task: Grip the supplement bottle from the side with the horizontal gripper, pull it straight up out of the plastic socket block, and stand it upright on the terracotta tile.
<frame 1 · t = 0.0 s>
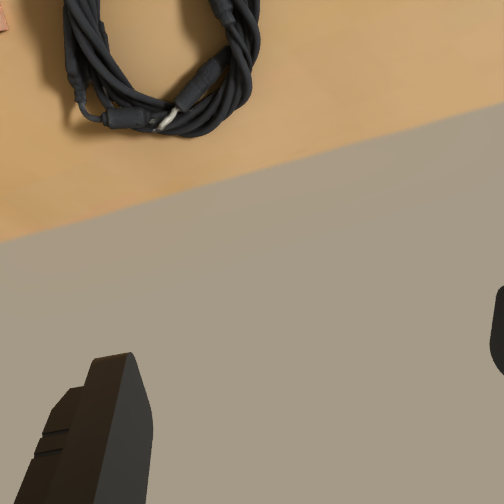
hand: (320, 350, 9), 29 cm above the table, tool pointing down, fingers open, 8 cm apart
cable: (168, 16, 32), on the table
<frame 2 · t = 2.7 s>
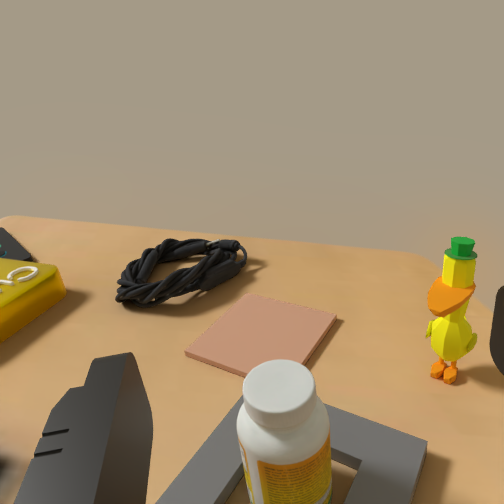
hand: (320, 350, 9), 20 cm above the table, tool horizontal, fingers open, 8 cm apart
socket block: (291, 493, 27), on the table
toy figure: (442, 376, 35), on the table
supplement bottle: (291, 495, 28), resting in socket block
terracotta tile: (263, 336, 42), on the table
cable: (176, 280, 56), on the table
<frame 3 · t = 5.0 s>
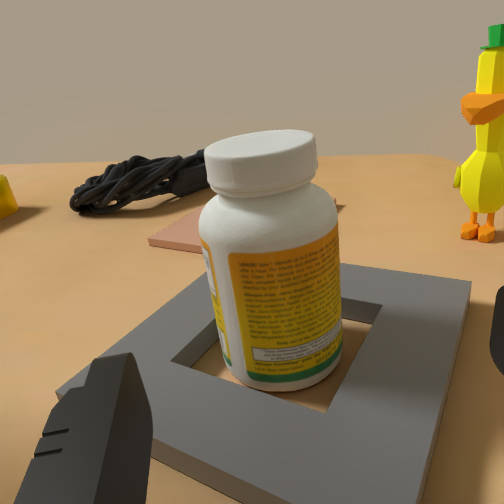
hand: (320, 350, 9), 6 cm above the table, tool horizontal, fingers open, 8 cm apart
socket block: (283, 353, 19), on the table
toy figure: (476, 238, 27), on the table
supplement bottle: (284, 357, 19), resting in socket block
terracotta tile: (246, 224, 34), on the table
cable: (146, 195, 47), on the table
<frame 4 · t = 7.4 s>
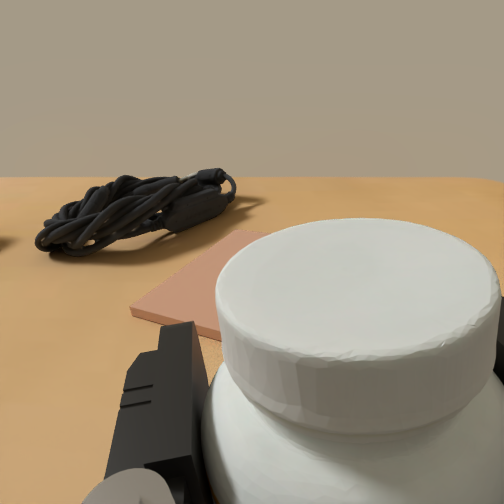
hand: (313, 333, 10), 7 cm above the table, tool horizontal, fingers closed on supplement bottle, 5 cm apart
terracotta tile: (263, 283, 25), on the table
cable: (135, 226, 39), on the table
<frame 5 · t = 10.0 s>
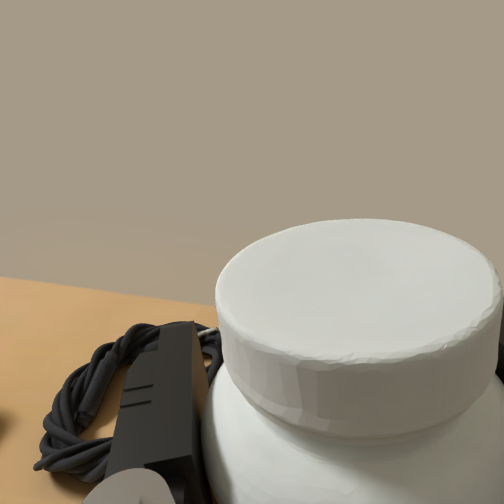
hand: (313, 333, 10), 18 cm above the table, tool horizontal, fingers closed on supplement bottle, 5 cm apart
cable: (148, 405, 34), on the table
when the fingers open (8 cm above the table, at t = 12.7 s): supplement bottle drops 1 cm, resting on terracotta tile.
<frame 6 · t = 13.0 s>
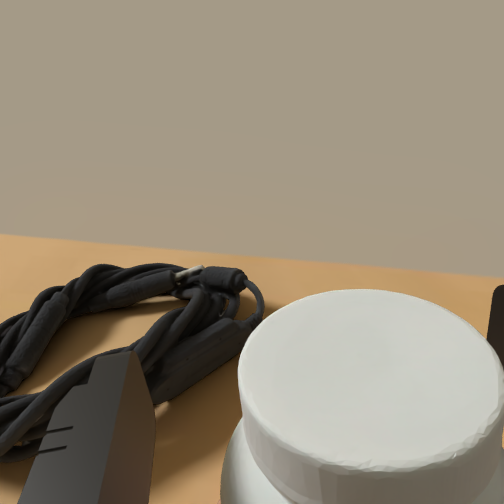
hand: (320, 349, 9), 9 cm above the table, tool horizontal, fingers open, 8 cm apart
cable: (106, 362, 25), on the table
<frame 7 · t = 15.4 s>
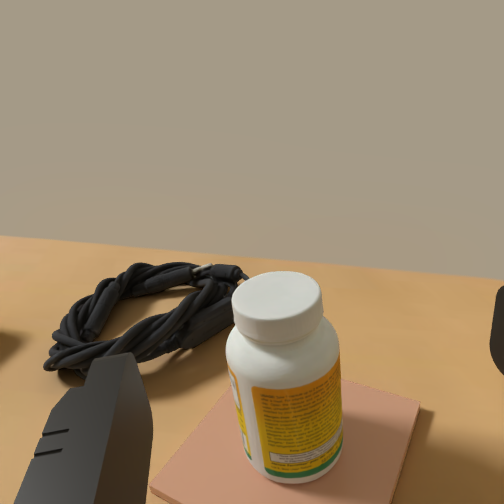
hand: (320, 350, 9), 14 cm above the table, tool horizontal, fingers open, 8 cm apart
supplement bottle: (294, 445, 23), resting on terracotta tile
terracotta tile: (292, 448, 23), on the table
cable: (147, 328, 37), on the table
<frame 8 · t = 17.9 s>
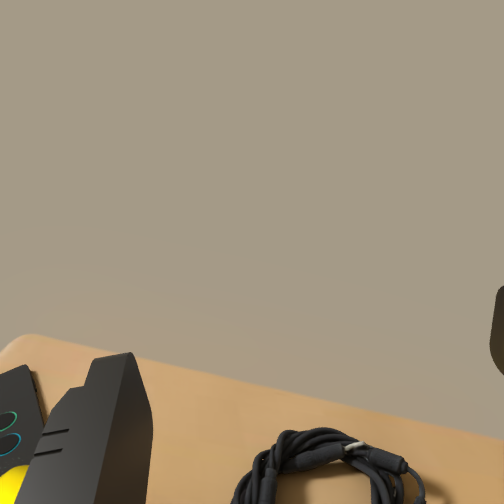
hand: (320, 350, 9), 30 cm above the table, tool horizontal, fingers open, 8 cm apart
smart home device: (7, 433, 50), on the table
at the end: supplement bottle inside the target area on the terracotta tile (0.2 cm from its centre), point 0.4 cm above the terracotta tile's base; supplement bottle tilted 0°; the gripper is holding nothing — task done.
